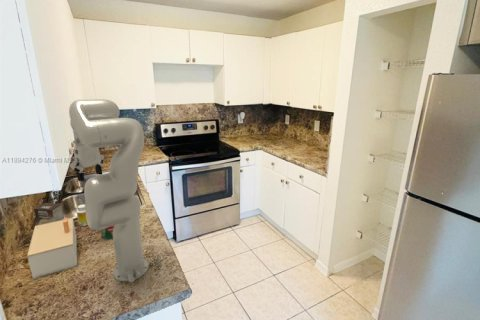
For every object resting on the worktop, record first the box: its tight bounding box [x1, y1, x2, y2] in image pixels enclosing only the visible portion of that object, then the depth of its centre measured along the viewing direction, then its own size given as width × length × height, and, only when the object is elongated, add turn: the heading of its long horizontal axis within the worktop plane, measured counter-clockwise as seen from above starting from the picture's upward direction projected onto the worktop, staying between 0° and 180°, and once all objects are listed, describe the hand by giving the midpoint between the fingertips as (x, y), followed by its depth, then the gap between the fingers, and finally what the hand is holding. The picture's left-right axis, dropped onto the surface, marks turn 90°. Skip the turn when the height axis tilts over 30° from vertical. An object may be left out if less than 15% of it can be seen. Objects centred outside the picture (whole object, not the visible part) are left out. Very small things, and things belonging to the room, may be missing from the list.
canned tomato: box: [99, 225, 115, 241], centre depth 122 cm, size 8×8×11 cm
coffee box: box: [33, 202, 65, 226], centre depth 121 cm, size 9×6×16 cm
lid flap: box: [27, 217, 74, 258], centre depth 106 cm, size 24×14×6 cm, turn 32°
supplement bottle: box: [76, 203, 88, 227], centre depth 133 cm, size 6×6×10 cm
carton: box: [27, 220, 78, 280], centre depth 108 cm, size 24×14×10 cm, turn 32°
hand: (90, 177), depth 119 cm, fingers open, 9 cm apart
